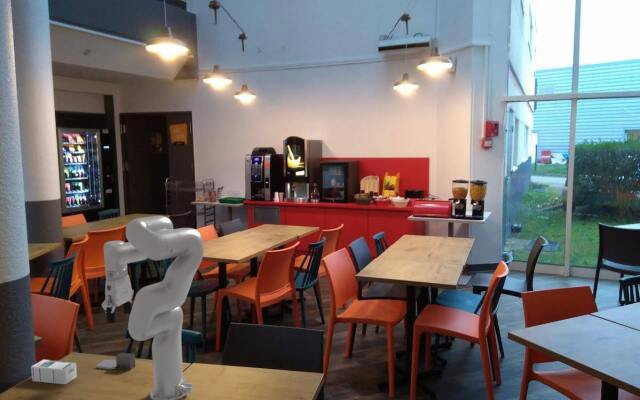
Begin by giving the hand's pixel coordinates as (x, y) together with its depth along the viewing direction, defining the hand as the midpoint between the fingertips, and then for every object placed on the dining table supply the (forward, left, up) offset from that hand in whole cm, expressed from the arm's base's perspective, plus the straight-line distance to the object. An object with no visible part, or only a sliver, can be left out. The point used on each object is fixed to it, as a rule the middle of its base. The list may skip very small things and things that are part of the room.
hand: (120, 317), depth 176 cm
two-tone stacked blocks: (+3, 0, -20) cm, 20 cm away
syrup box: (+12, +13, -17) cm, 24 cm away
